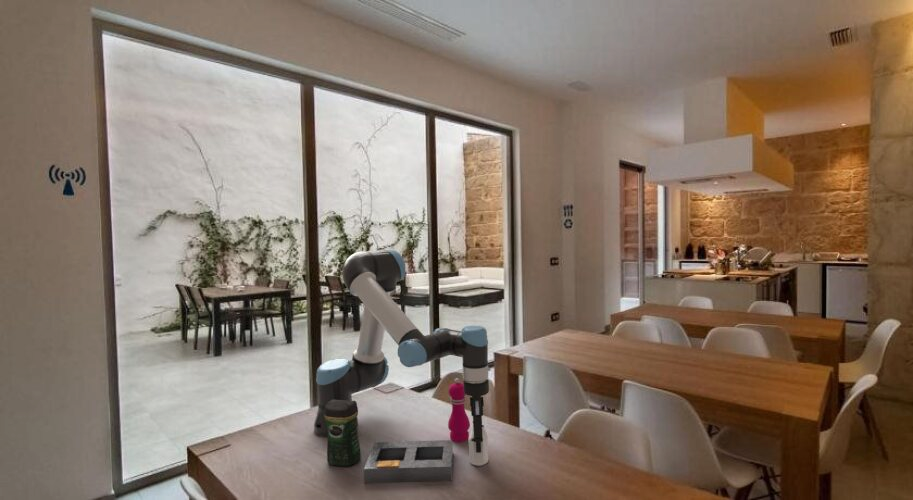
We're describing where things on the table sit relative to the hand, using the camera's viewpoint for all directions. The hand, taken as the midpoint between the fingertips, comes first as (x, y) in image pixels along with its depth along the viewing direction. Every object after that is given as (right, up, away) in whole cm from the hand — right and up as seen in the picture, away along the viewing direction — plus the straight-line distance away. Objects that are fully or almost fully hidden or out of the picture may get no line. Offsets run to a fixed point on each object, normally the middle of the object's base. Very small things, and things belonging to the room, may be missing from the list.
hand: (478, 456), depth 138 cm
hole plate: (-20, -2, -2) cm, 20 cm away
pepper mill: (-5, -1, +16) cm, 17 cm away
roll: (0, -2, 0) cm, 2 cm away
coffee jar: (-41, -3, +4) cm, 41 cm away
